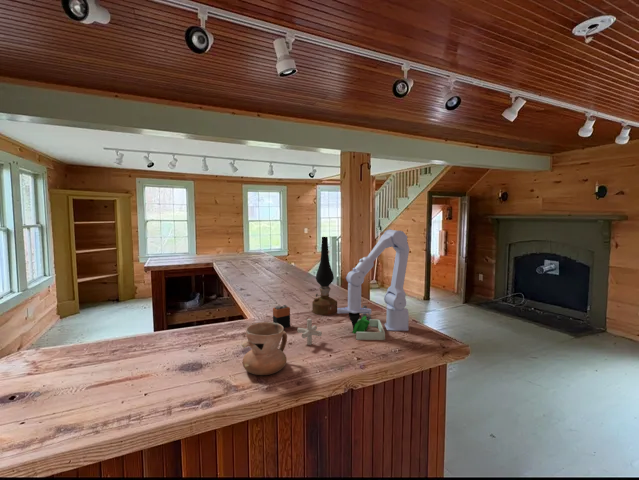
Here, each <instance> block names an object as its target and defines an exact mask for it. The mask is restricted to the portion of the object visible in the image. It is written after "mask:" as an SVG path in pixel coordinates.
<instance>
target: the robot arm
mask: <svg viewBox="0 0 639 480" xmlns="http://www.w3.org/2000/svg"><path fill="white" fill-rule="evenodd" d="M408 242H409V241H408V235H407V234H406V233H405V232H404V231H403V230H397V229H396V230H394V229H386V230H385V231H384V232H383V234H382V235H381V236H380V238H379V239H378V241H377V243H376V244H375V245H374V246H373V248H372V249H371V251H370V252H369V254H367V256H363V257H362V258H360V259H359V260H358V261H359V262H358V263H357V265H356V266H355V267H352V270H350V271H349V272H347V275H346V276H345V280H346V282H347V306H345V307H337V313H336V314H348V318H349V319H350V322H351V324H352V326H351V327H352V330H353V329H354V327H355V324H356V323H357V321H358V319H360V318H361V314H370V315H372V309H371V308H368V307H367V308H363V307H362V284H363V283H364V281H365V277H366V276H367V274H369V272H370V271H371V269H373V267H374V265H375V264H374V262H375V261H376V259H378V257H379V256H380V255H381V254H382V253H383V252H384V251H385V249H388V248H393V249H394V251H395V257H394V265H393V270H392V274H391V275H392V276H391V282H390V286H388V288H387V290H386V293H385V294H384V296H383V300H384V303H385V304H386V317H385V318H386V322H385V323H384V327H385V329H386V331H398V332H399V331H400V332H401V331H405V332H408V331H409V329H410V328H409V319H410V318H409V317H410V316H409V310H408V309H407V307H406V306H407V299H406V294H407V293H406V292H405V289H404V285H405V278H406V273H407V266H408V260H409V254H410V247H409V243H408Z"/></svg>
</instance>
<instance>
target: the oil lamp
mask: <svg viewBox="0 0 639 480" xmlns="http://www.w3.org/2000/svg"><path fill="white" fill-rule="evenodd" d="M328 239H329V237H328V236H322V237H321V249H320V261H319V266H318V269H317V271H316V274H315V280H316V282H317V283H318V285H320V287H318V290H319V292H320V294H319V295H318V293H316V294H315V298H313V299H314V300H313V301H311V302H312V303H311V305H312V309H311V312H312V313H313V314H315V315H318V316H333V315H335V314H338V313H337V308H338V301H337V300H336V299H335V298H332V297H330V291H331V287H330V285H331V284H333V282H334V280H335V276H334V272H333V270H332V267H331V264H330V257H329V240H328ZM318 296H319V297H318ZM316 297H317V298H316Z"/></svg>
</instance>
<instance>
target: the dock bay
mask: <svg viewBox="0 0 639 480" xmlns="http://www.w3.org/2000/svg"><path fill="white" fill-rule="evenodd" d="M360 319H361V318H359V319H358V321H359V320H360ZM358 321H357V322H358ZM382 324H383V323H382V322H381V320H380V319H372V318H371V319H370V323H369V325H368V327H377V328H378V331H364V332H356V333H355V334H356V336H355V337H356V339H355V340H359V341H360V340H361V341H362V340H365V341H366V340H367V341H373V340H375V341H385V340H386V331H385V329H384V327H383V325H382Z"/></svg>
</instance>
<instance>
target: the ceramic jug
mask: <svg viewBox="0 0 639 480" xmlns="http://www.w3.org/2000/svg"><path fill="white" fill-rule="evenodd" d="M284 329H285V328H283V326H282V325H281V324H278V323H274V322H273V321H270V322H269V321H263V322H262V321H261V322H257V323H255V322H254V323H252V324H250V325H249V326H247V327H246V328H245V334H246V338H247V341H244V342H242V343H241V347H242V348H244V349H246V348H248V347H250V348H251V349H250V350H249V351H247V352H246V353H245V355H243V358H242V367H243V368H244V370H245V371H246V372H247V373H250V374H252V375H255V376H268V375H272V374H276V373H278V372H280V371H281V370H282V369H284V368H285V366H286V364H287V360H288V359H287V356H286V354H285V352H284V350H285V347H286V345H287V342H288V334H287V332H286V331H285V330H284Z"/></svg>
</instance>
